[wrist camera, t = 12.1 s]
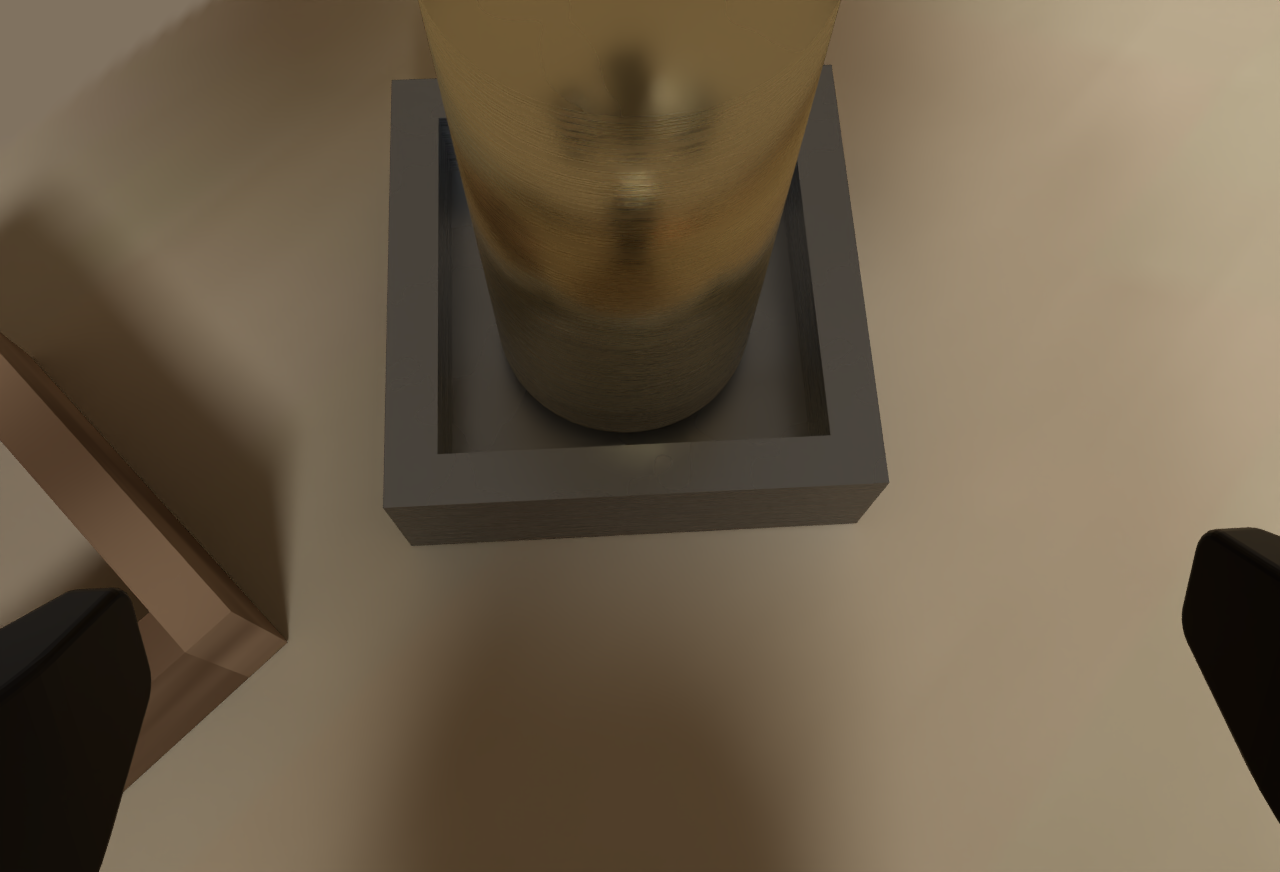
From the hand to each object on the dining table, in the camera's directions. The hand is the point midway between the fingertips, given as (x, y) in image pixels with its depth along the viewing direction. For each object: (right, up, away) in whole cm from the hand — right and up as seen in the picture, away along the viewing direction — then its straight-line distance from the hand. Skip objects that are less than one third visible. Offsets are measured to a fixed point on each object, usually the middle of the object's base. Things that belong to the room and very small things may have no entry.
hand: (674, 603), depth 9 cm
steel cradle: (-1, +4, +16) cm, 16 cm away
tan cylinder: (-1, +4, +15) cm, 15 cm away
